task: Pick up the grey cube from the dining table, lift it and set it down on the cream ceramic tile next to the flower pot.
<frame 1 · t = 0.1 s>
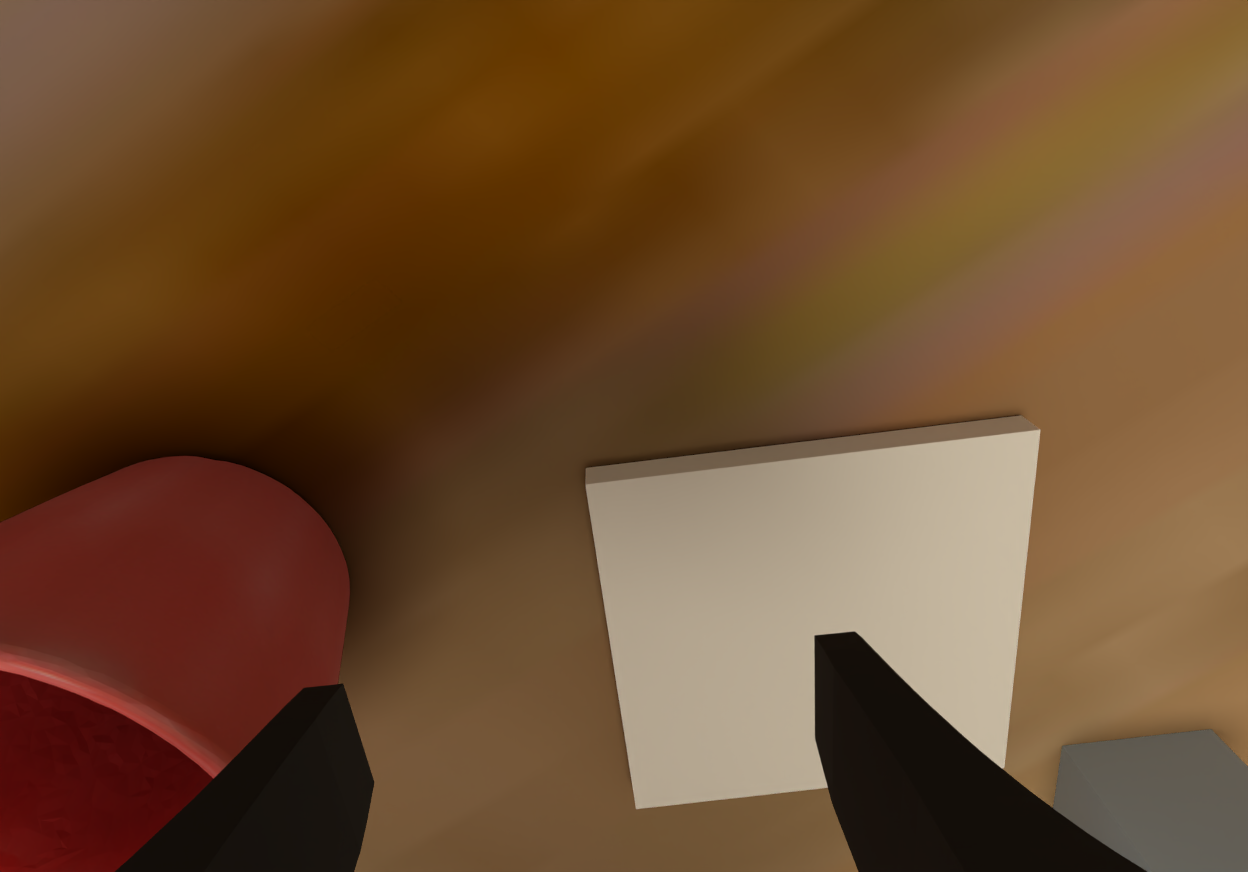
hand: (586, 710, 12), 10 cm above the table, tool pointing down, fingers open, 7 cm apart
cream tile: (807, 619, 24), on the table
flower pot: (222, 570, 23), on the table
grey cube: (1124, 789, 27), on the table
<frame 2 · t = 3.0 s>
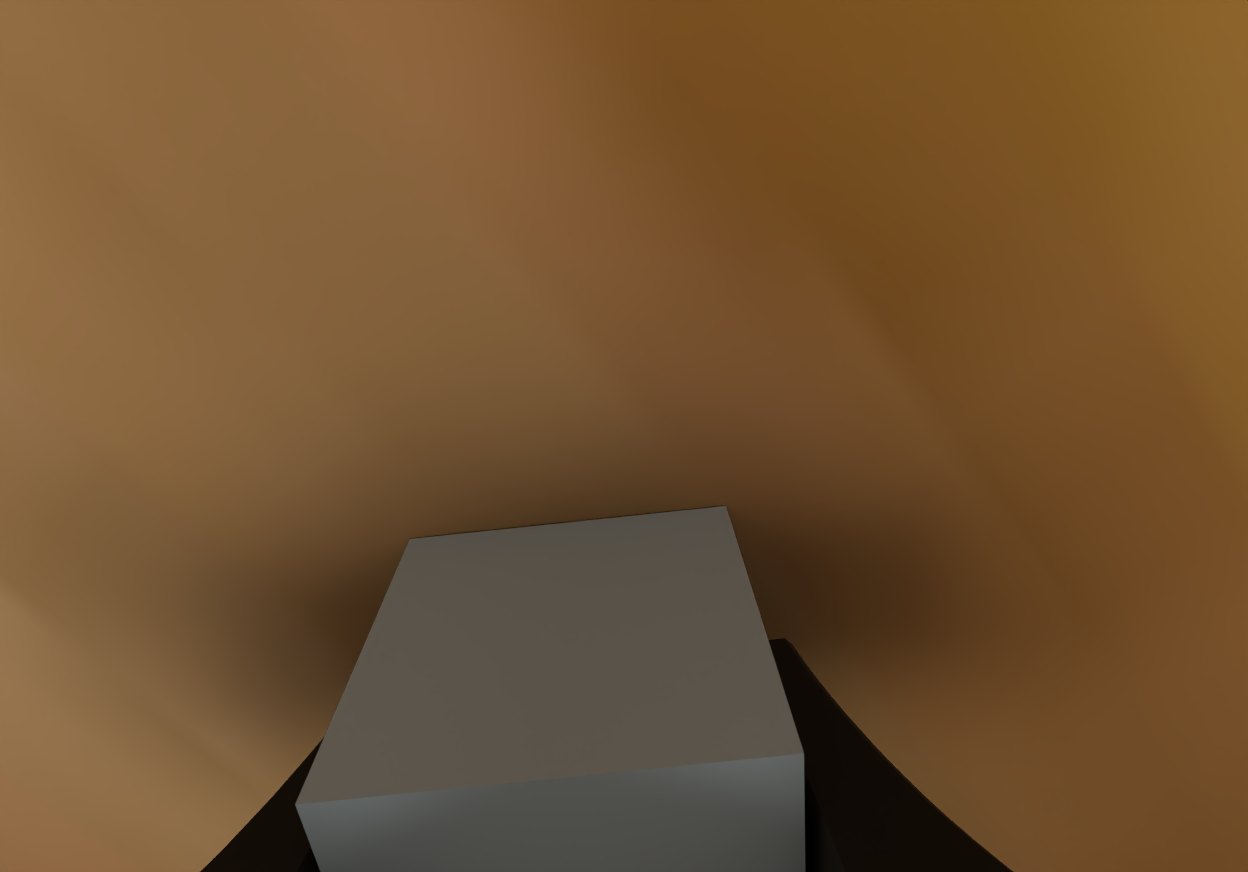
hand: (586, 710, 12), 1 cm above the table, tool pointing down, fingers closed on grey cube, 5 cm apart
grey cube: (586, 649, 13), on the table, touching gripper
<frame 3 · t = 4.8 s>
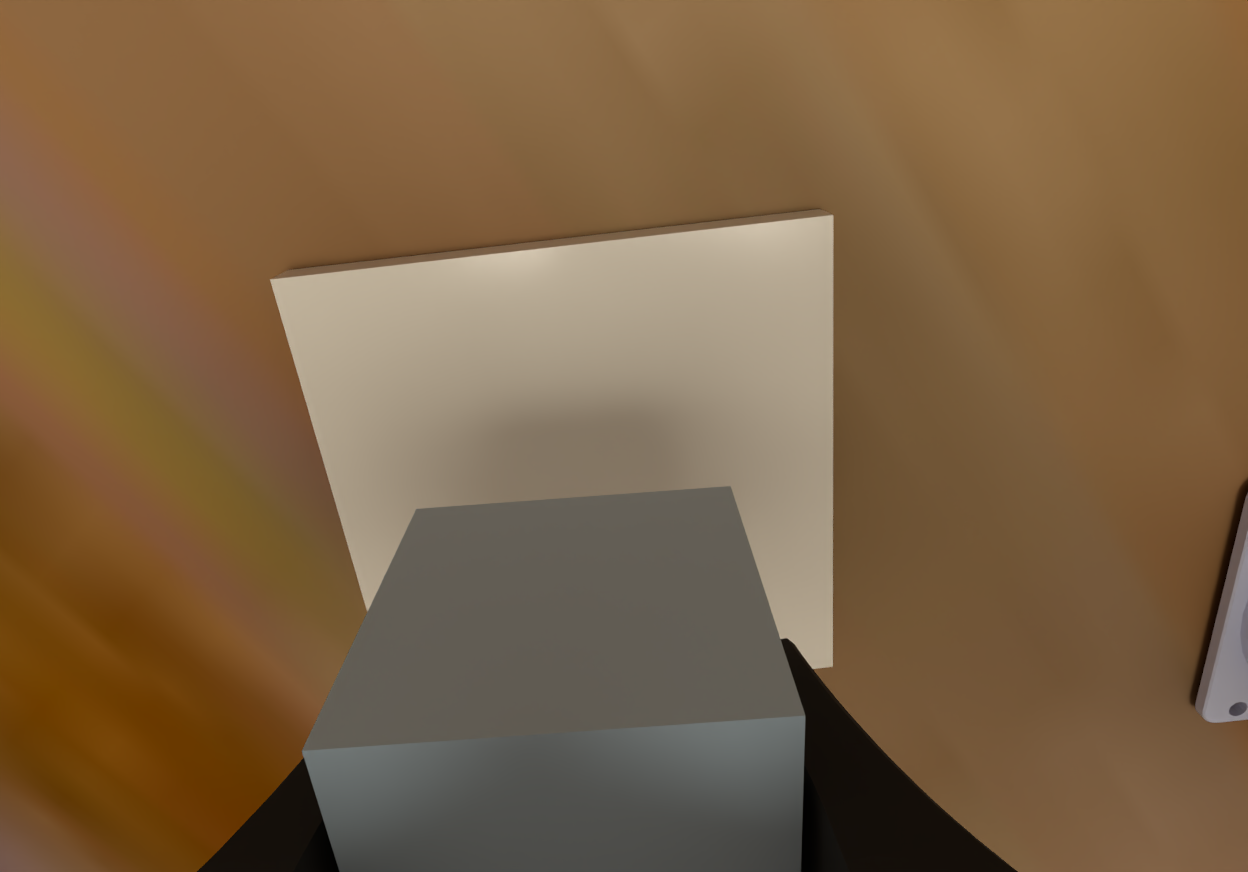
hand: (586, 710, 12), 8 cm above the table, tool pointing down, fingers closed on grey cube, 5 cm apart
cream tile: (586, 478, 20), on the table
grey cube: (587, 626, 13), point 7 cm above the table, touching gripper
when the fingers open (3 cm above the table, at t = 6.7 s): grey cube stays where it is, resting on cream tile.
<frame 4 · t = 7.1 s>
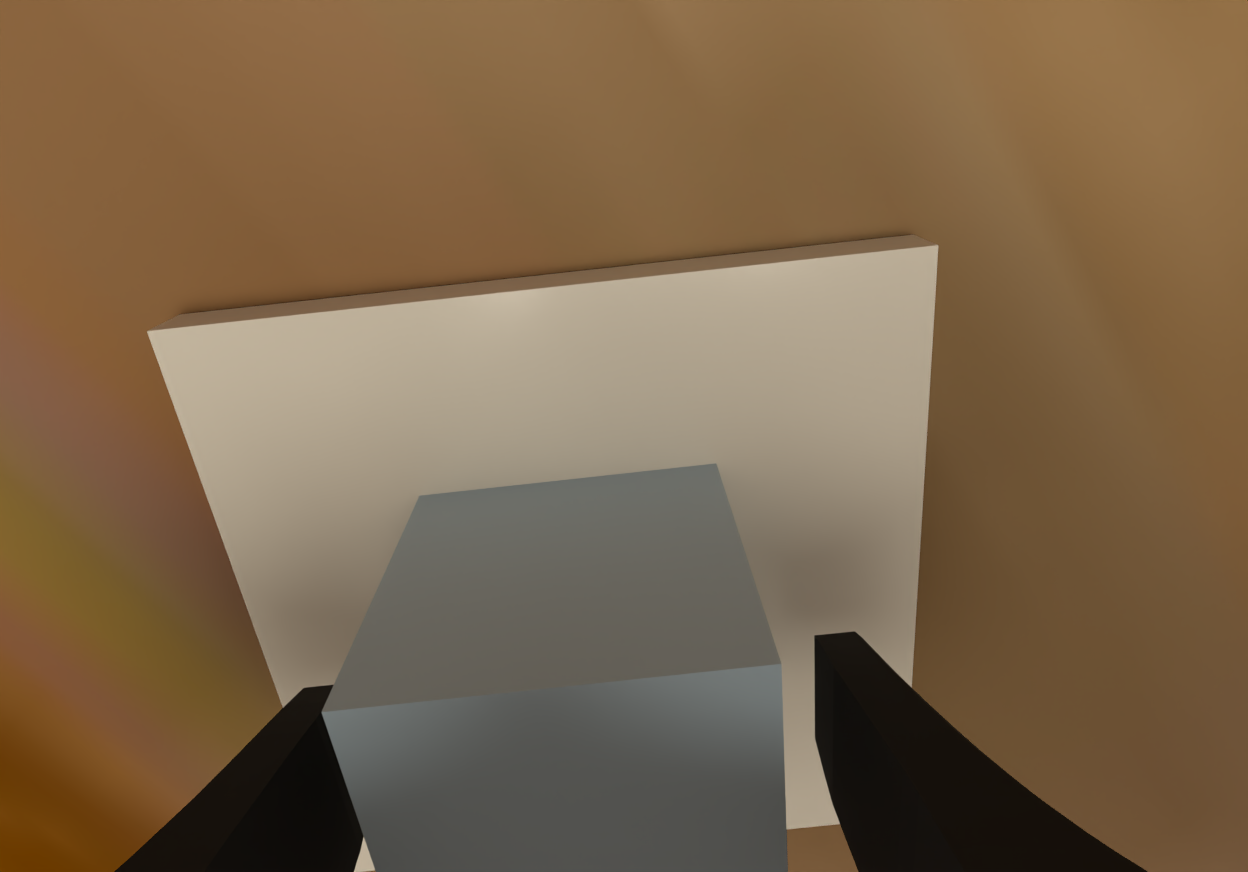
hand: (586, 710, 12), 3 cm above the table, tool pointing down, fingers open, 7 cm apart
cream tile: (588, 583, 15), on the table
grey cube: (586, 602, 14), point 1 cm above the table, touching cream tile
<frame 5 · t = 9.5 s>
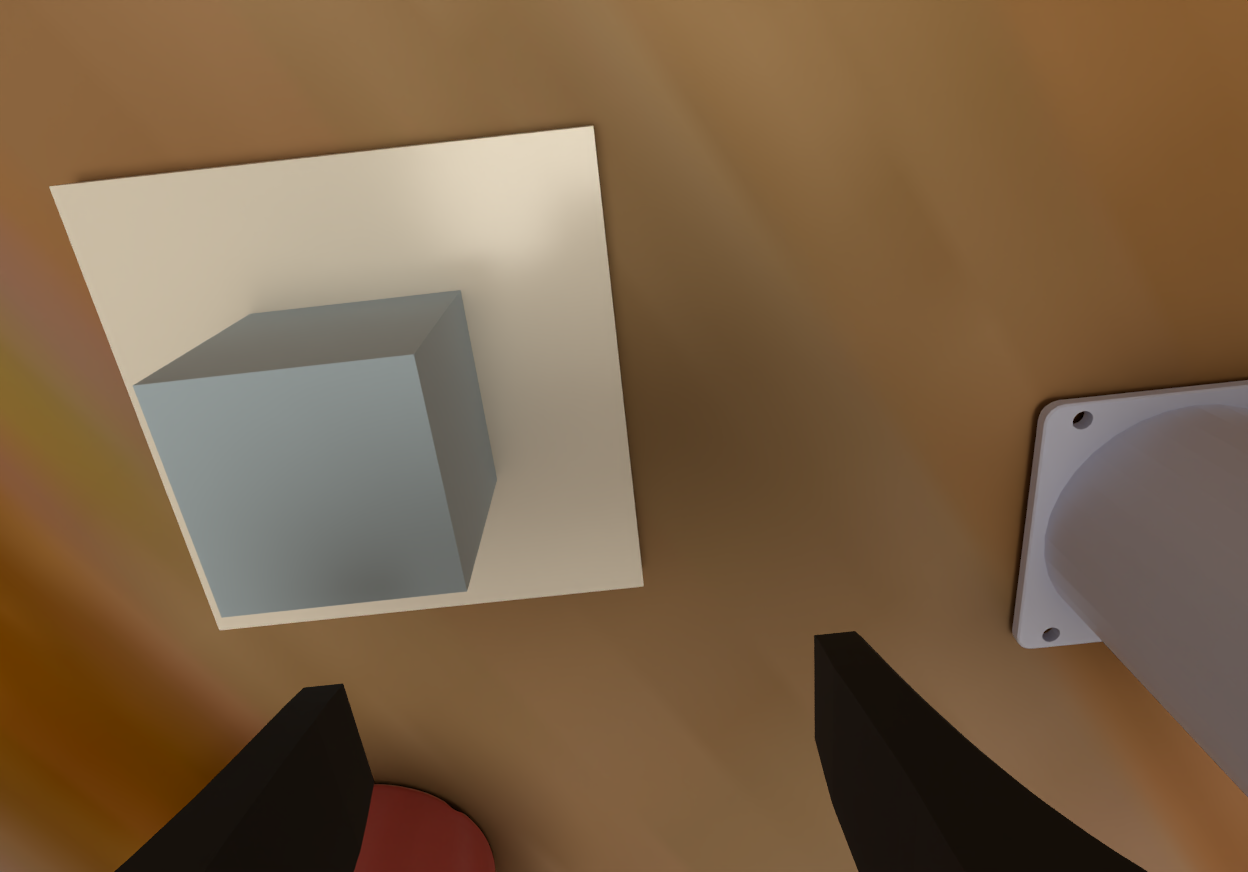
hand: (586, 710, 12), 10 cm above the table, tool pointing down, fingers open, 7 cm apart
cream tile: (392, 396, 20), on the table
flower pot: (388, 855, 27), on the table
grey cube: (379, 400, 19), point 1 cm above the table, touching cream tile
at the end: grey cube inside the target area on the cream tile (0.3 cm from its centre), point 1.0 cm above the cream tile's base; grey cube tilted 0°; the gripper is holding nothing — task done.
